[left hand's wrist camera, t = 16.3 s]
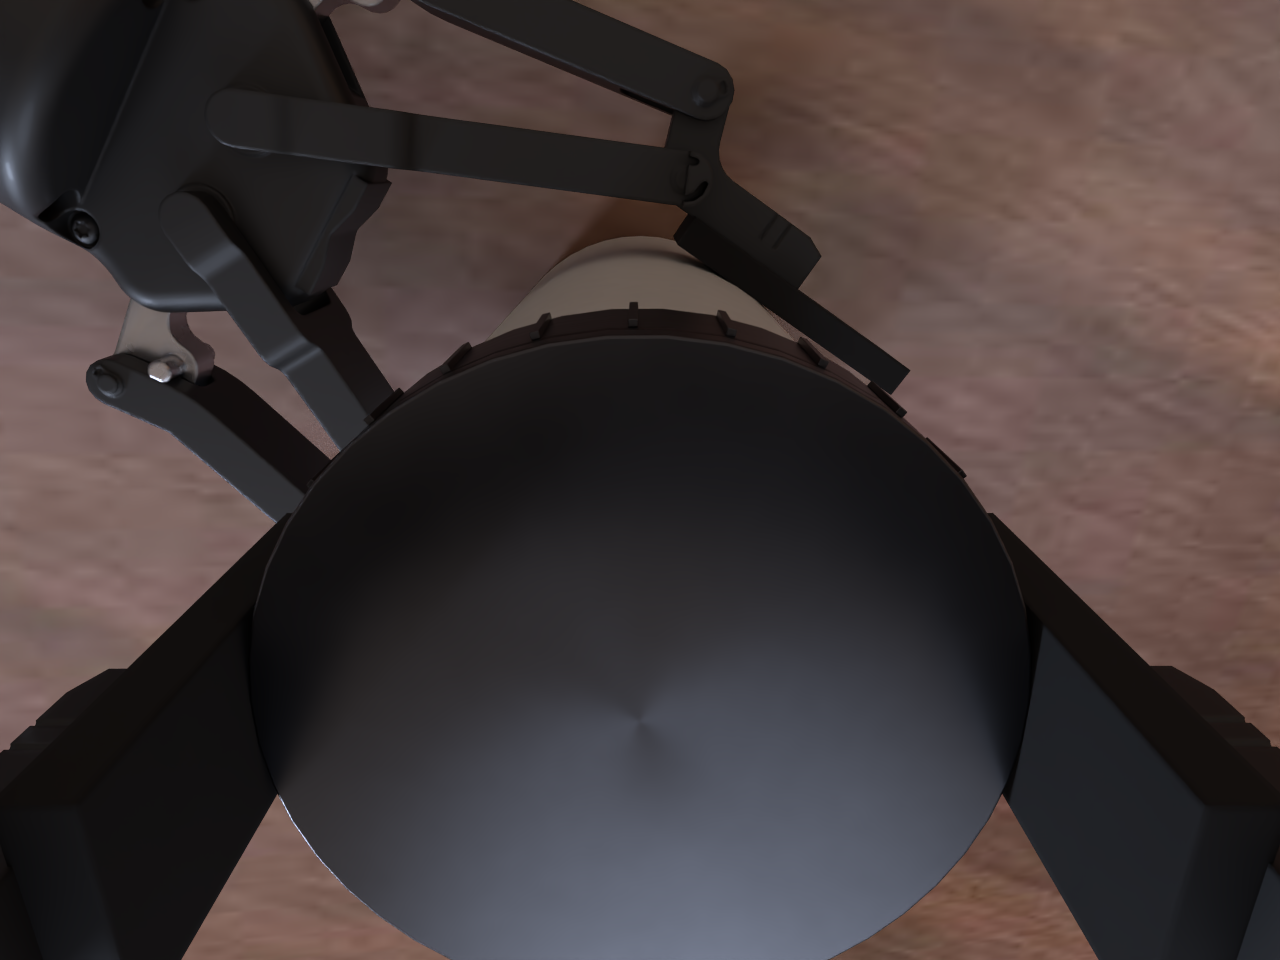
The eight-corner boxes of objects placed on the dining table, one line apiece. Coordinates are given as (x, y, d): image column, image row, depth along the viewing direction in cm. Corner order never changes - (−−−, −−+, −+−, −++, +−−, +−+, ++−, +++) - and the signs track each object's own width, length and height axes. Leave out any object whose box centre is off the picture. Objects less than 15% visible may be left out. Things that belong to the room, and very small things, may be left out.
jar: (827, 374, 28) (1119, 695, 11) (638, 544, 31) (636, 1033, 13) (641, 174, 26) (644, 182, 9) (452, 371, 28) (158, 688, 11)
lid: (381, 192, 10) (327, 197, 8) (1106, 439, 11) (1193, 488, 9) (249, 813, 13) (189, 910, 12) (821, 957, 14) (845, 1067, 13)
